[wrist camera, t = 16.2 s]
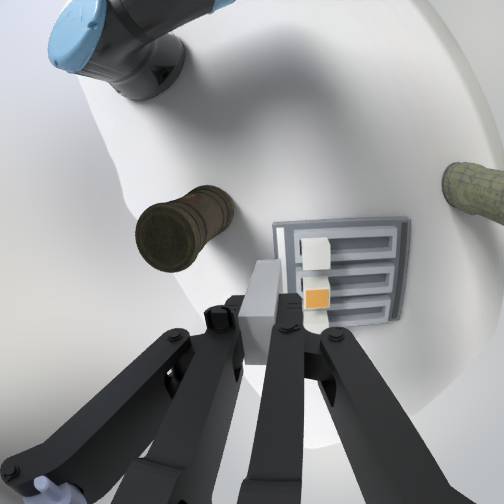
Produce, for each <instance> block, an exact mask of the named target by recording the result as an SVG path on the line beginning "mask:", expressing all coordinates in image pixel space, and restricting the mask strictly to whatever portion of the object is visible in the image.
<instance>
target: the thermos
mask: <svg viewBox="0 0 504 504" xmlns="http://www.w3.org/2000/svg"><path fill="white" fill-rule="evenodd" d="M442 192H443V194H444V197H445V199H446V200H447V202H448V203H449V204H450V205H452V206H453V207H456V208H458V209H459V210H461V211H463V212H466V213H468V214H470V215H475V214H479V215H481V216H483V217H486V218H488V219H490V220H493V221H495V222H497V223H499V224H501V225H504V171H500V170H494V169H488V168H485V167H484V166H482V165H479V164H475V163H467V162H464V163H459V162H457V163H452V164H451V165H449V166H448V167H447V169H446V170H445V172H444V174H443V177H442Z"/></svg>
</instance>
